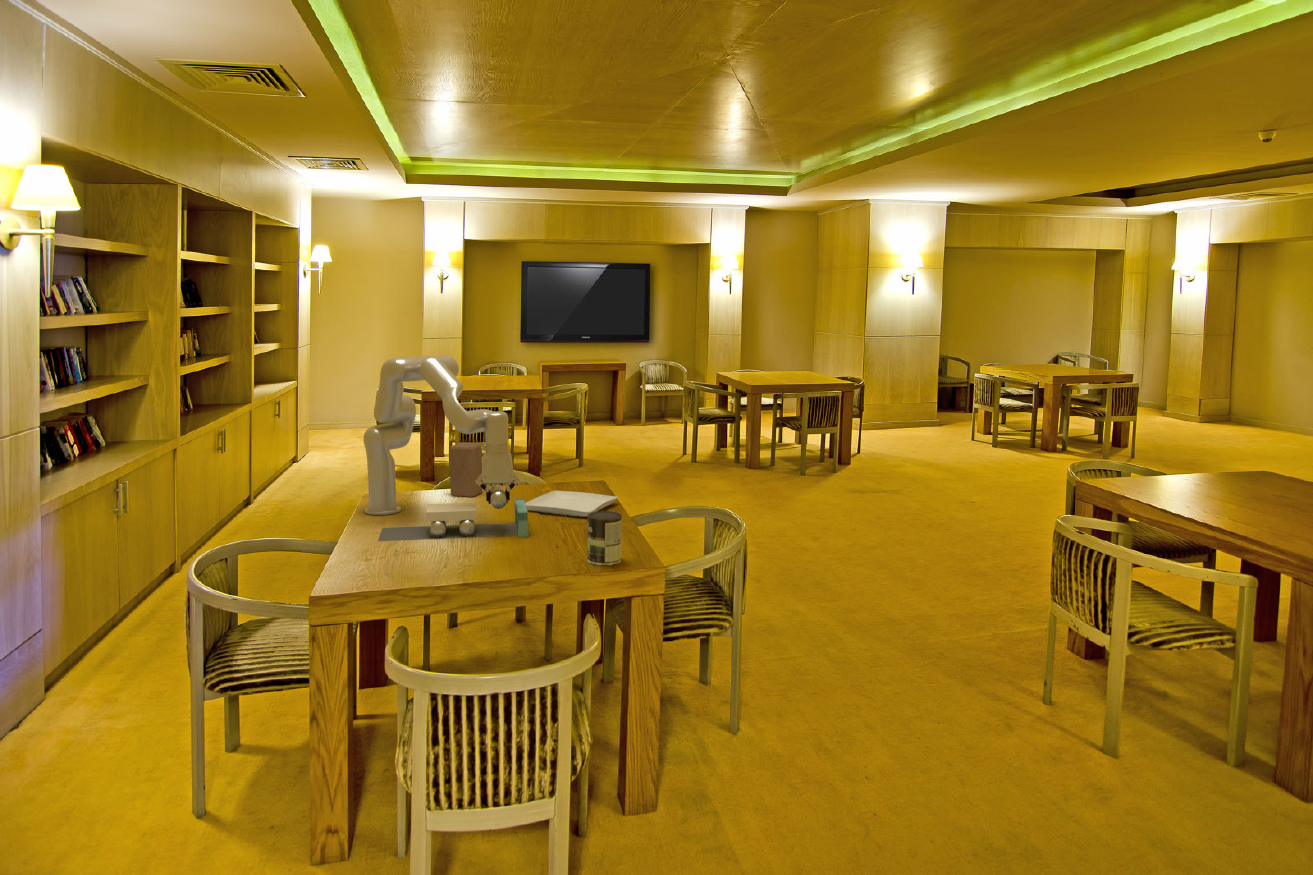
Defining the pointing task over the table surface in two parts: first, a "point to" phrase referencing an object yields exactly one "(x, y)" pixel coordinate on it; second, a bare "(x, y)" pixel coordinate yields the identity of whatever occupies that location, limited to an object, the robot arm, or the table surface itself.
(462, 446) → the wooden block
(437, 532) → the roller
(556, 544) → the table surface
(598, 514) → the coffee can
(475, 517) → the slab
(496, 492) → the loose roller
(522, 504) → the runway
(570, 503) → the square plate
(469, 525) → the roller
